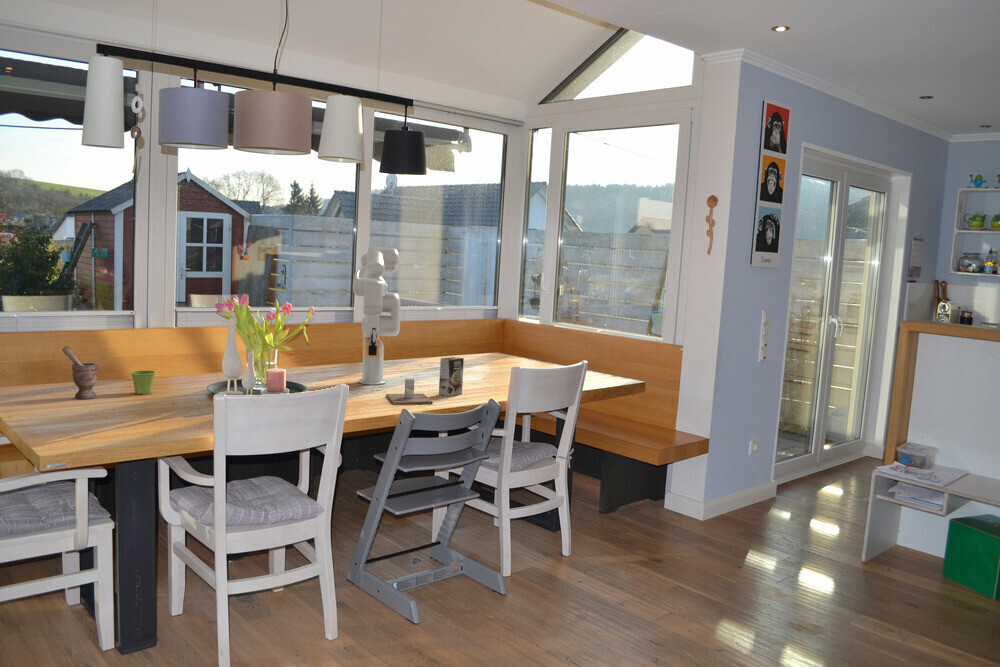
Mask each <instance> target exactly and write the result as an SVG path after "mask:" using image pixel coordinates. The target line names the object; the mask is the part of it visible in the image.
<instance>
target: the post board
mask: <svg viewBox="0 0 1000 667" xmlns="http://www.w3.org/2000/svg"><path fill="white" fill-rule="evenodd" d="M385 396H386V398H387V399H388V400H389V401H390V403H391V404H392V405H393V406H398V405H399V406H400V405H403V406H405V405H406V406H407V405H409V406H410V405H411V406H412V405H413V406H414V405H433V401H432V400H431V399H430V398H429V397H428V396H427V395H425V394H424V393H415V379H414V378H413V377H411V378H410V377H409V378H408V377H407V378H406V377H405V379H404V393H386V394H385Z"/></svg>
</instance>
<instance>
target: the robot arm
mask: <svg viewBox="0 0 1000 667" xmlns="http://www.w3.org/2000/svg"><path fill="white" fill-rule="evenodd" d="M400 258H401V257H400V253H399V250H398V249H396V248H394V247H381V246H379V247H378V246H375V247H370V248H369V249H368V250H367V252H366V253H364V254H363V255H362V256H361V258H360V265H361V267H360V268H359V269H357V270H356V271H355V273H354V276H353V282H352V291H353V294H354V295H355V296H357V297H363V309H362V310H363V311H362V312H363V314H364V316H363V318H362V320H361V330H362V331H361V332H362V345H363V344H364V337H366V338H367V339H368V337H369V339H370V340H369V344H370V345H369V355H377V338H379V337H396V336H398V335H399V334H400V330H401V298H400V295H399V294H398V293H397V292H389V291H388V288H389V285H388V283H387V282H386V280H385V279H384V278H383V276H384V274H385V273H397V272H398V270H399V269H400V265H401V264H400V260H401V259H400ZM383 313H386V314H387V313H388V314H390V315H386V314H385V315H383ZM371 337H373V338H371ZM379 339H380V338H379ZM384 350H385V346H384V342H383V341H382V340H381V339H380V353H379V358H365V357H364V356H363V355H362V365H361V366H362V371H361V378H359V379H358V383H360V384H361V385H362V384H363V385H371V386H372V385H373V386H374V385H375V386H376V385H385V384H387V380H386V379H385V378H384V354H385V352H384Z"/></svg>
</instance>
